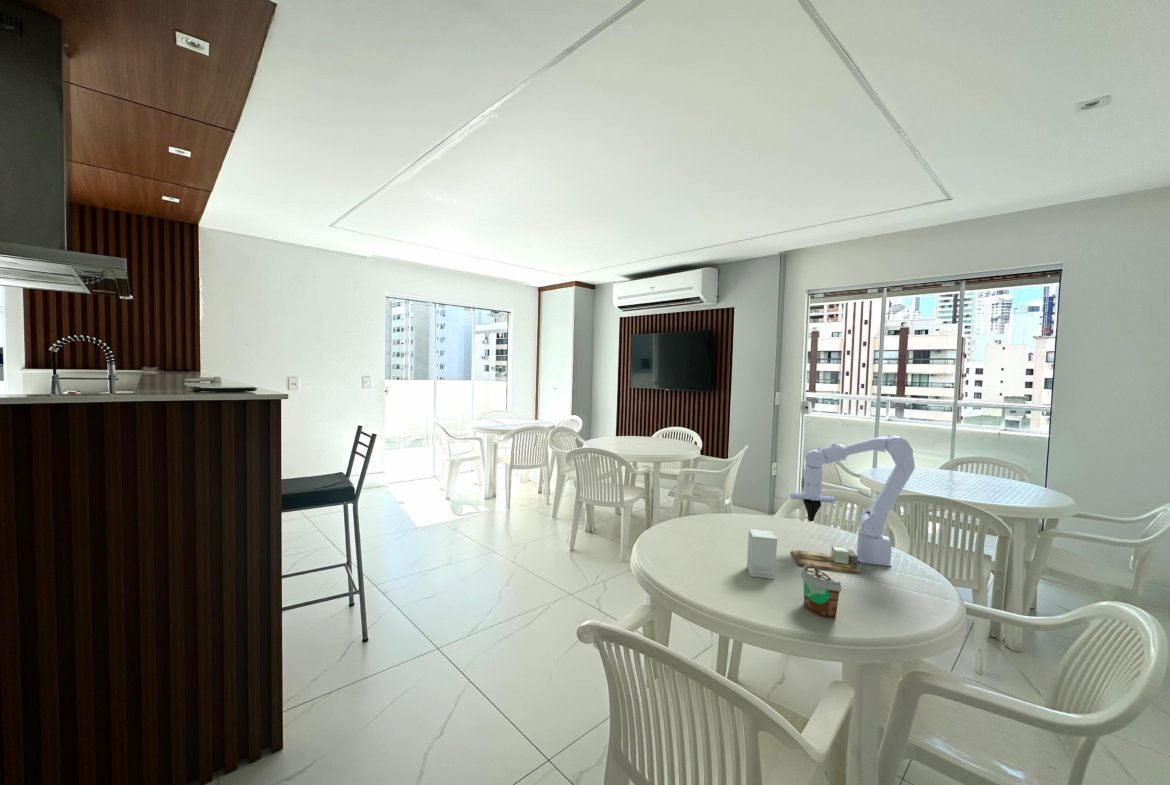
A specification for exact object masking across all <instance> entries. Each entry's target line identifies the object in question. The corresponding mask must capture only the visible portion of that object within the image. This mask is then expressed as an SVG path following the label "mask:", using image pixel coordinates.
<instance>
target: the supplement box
mask: <svg viewBox="0 0 1170 785" xmlns="http://www.w3.org/2000/svg"><path fill="white" fill-rule="evenodd" d="M747 539H748V540H747V558H746V560H747V561H746V569H747V571H748V573H749V576H750V577H753V578H754V577H755V578H762V579H770V580H775V578H776V567H777V552H778V551H777V547H778V538H777V536H776V535H775V534H774V531H772V530H771V531H770V530H761V529H751V528H750V529H748V537H747Z"/></svg>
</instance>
